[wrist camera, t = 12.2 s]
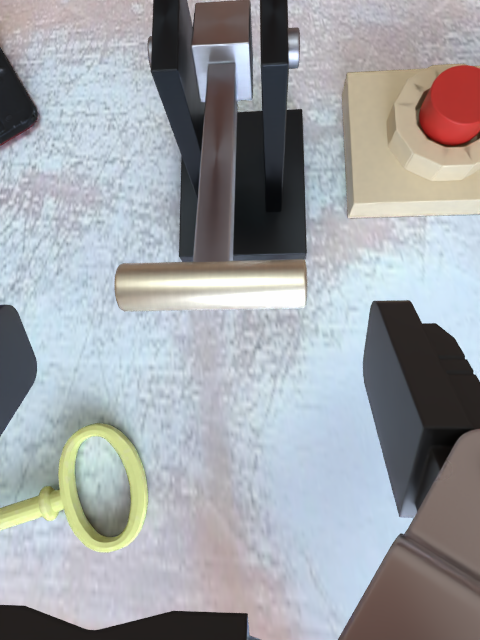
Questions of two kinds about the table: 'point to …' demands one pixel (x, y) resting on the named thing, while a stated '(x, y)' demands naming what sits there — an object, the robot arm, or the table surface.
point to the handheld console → (13, 103)
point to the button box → (402, 150)
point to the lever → (216, 192)
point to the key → (69, 500)
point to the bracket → (238, 136)
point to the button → (453, 106)
